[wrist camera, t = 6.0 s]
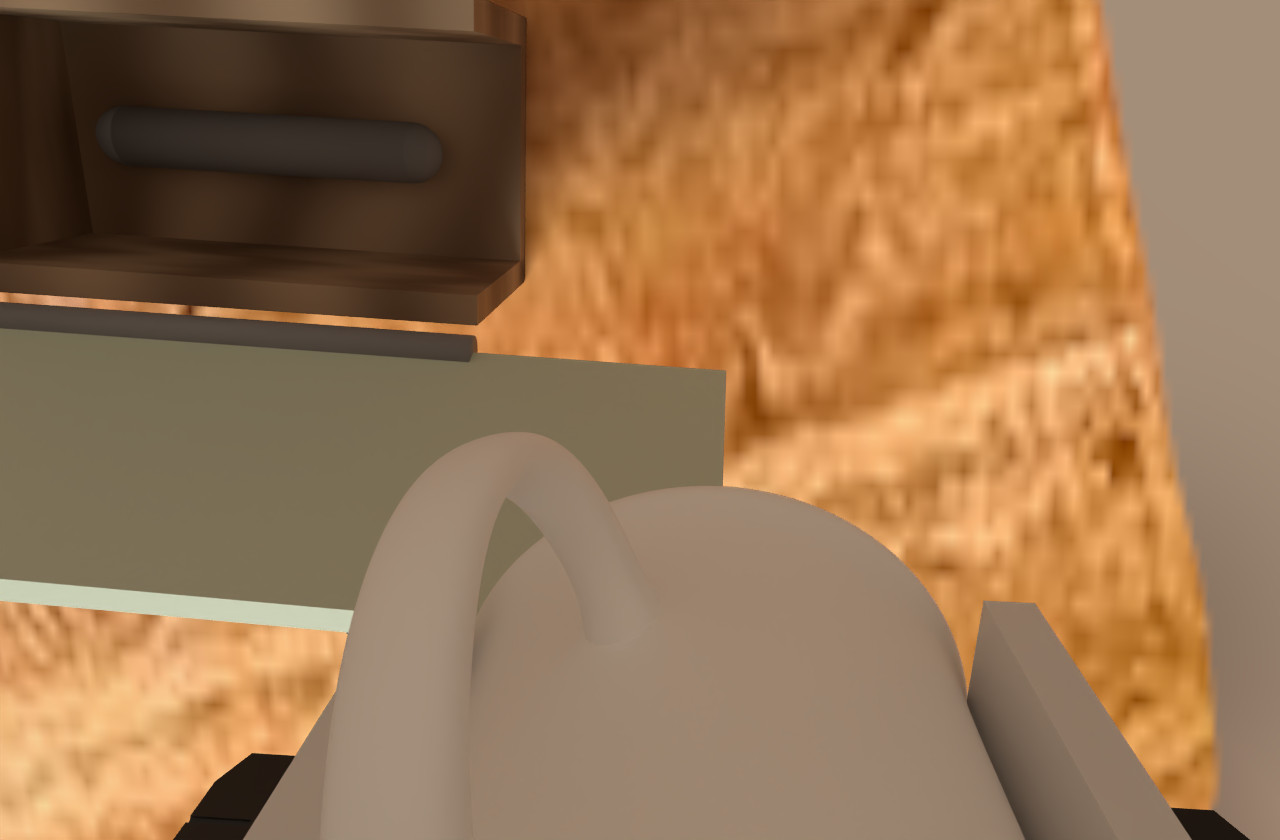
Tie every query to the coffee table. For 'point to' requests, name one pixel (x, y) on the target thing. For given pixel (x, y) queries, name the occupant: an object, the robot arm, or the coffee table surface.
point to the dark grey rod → (270, 144)
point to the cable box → (257, 203)
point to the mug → (645, 672)
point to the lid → (286, 453)
